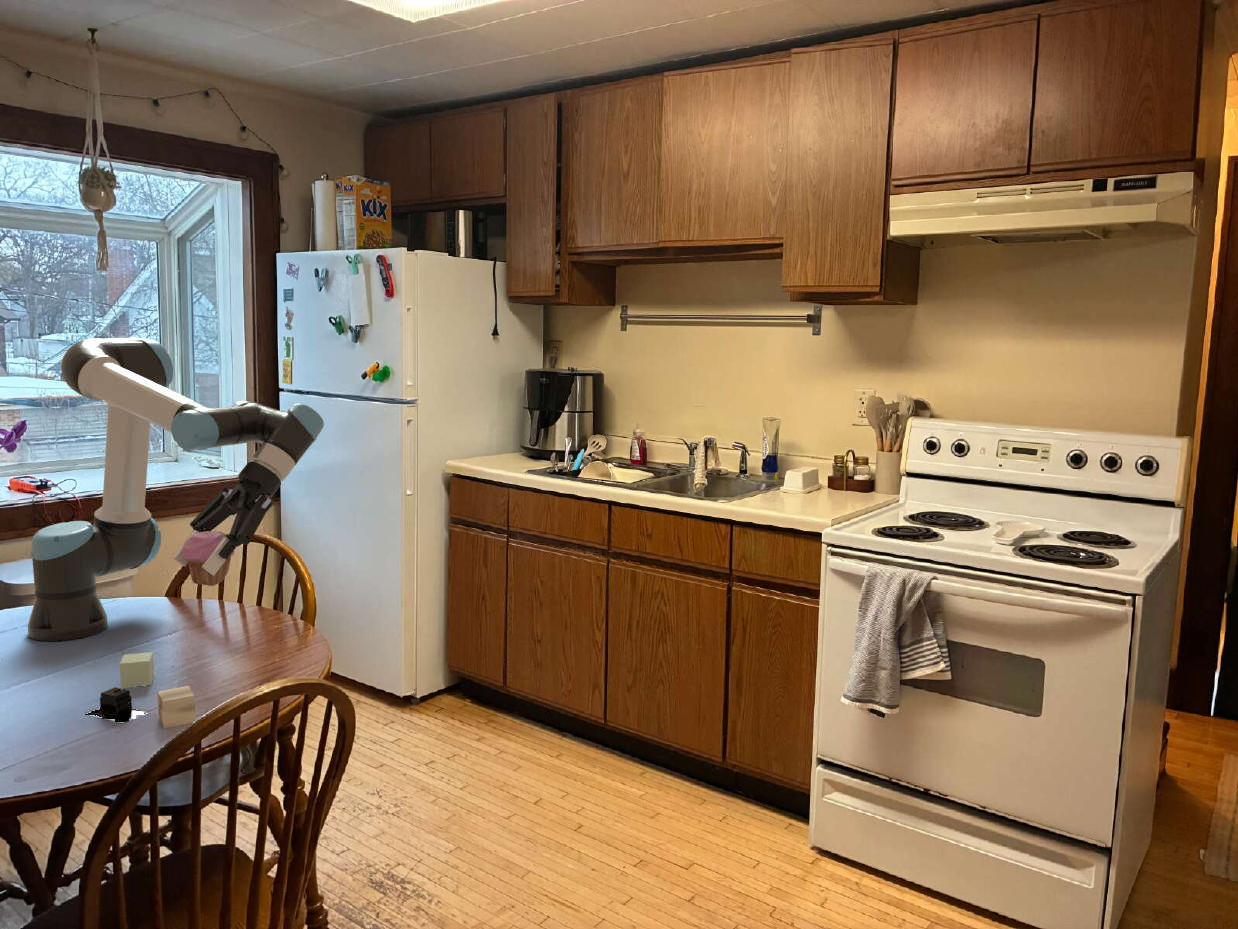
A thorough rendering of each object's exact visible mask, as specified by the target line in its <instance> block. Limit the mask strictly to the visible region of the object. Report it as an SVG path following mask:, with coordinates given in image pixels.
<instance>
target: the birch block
mask: <svg viewBox="0 0 1238 929" xmlns="http://www.w3.org/2000/svg"><path fill="white" fill-rule="evenodd" d="M195 700H196V699H195V693H194V692H193V691H192V689H191V687H190V685H185V686H181V687H176V688H175V687H174V688H170V689H169V688H168V689H165V690H164V689H163V690H159V691H157V707H158V719H159V721H160V723H161V725H162V727H163V729H165V730H166V729H169V728H175V727H180V726H183V724H185V725H189V724H193V723H192V722H194V721H195V720H196V701H195Z"/></svg>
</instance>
